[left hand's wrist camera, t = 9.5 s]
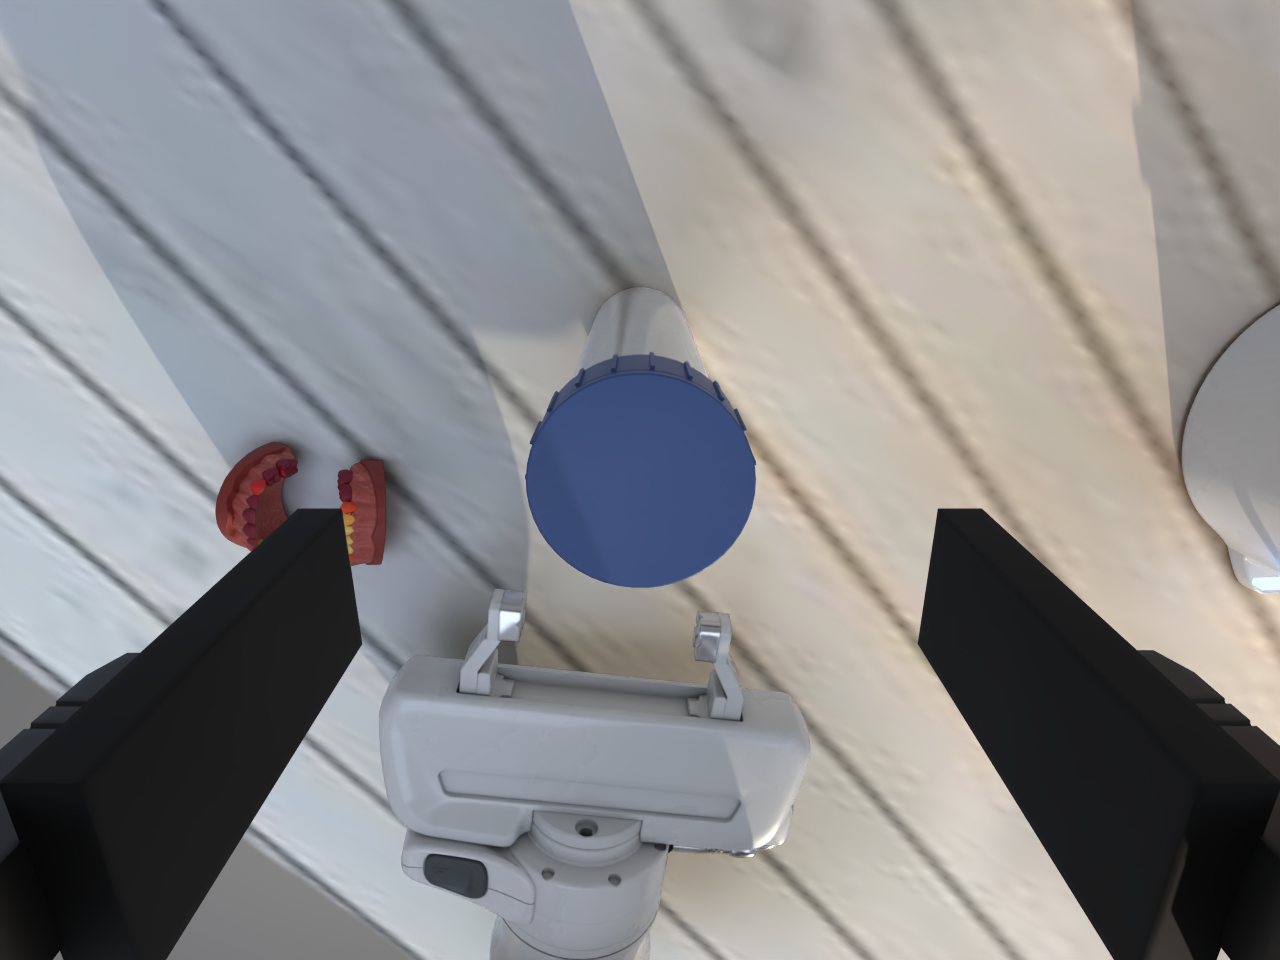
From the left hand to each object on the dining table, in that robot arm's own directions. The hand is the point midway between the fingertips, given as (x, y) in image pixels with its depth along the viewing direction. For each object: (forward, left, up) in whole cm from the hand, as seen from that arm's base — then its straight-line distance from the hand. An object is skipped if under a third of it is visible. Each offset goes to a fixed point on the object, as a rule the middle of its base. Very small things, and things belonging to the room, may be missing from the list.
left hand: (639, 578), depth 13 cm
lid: (0, 0, -5) cm, 5 cm away
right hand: (+6, +9, -18) cm, 21 cm away
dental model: (+18, 0, -25) cm, 31 cm away
